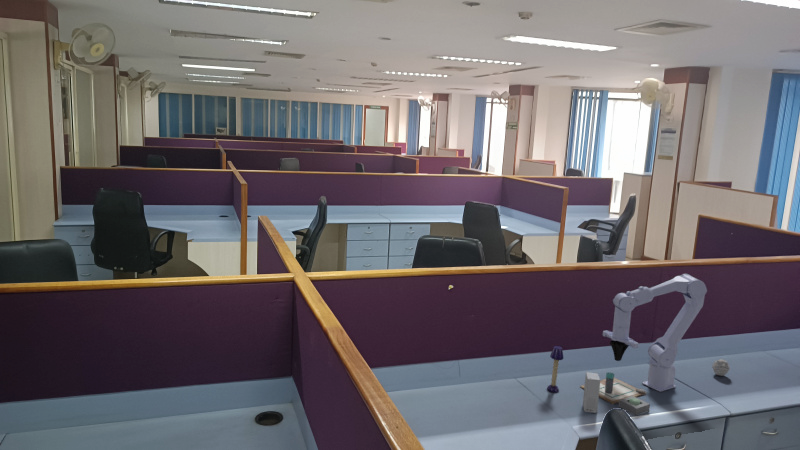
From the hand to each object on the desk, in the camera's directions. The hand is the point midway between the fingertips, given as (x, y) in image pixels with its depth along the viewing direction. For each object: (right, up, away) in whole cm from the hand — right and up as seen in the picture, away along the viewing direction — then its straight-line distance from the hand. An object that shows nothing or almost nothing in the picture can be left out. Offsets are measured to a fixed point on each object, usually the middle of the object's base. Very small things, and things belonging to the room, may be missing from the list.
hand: (617, 360), depth 215 cm
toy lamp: (-25, -10, -5) cm, 28 cm away
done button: (-1, -14, -17) cm, 22 cm away
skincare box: (-17, -13, -18) cm, 28 cm away
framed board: (-3, -11, -3) cm, 11 cm away
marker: (-6, -10, -6) cm, 13 cm away
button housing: (-1, -13, -17) cm, 21 cm away
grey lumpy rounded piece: (+46, -10, +14) cm, 49 cm away
